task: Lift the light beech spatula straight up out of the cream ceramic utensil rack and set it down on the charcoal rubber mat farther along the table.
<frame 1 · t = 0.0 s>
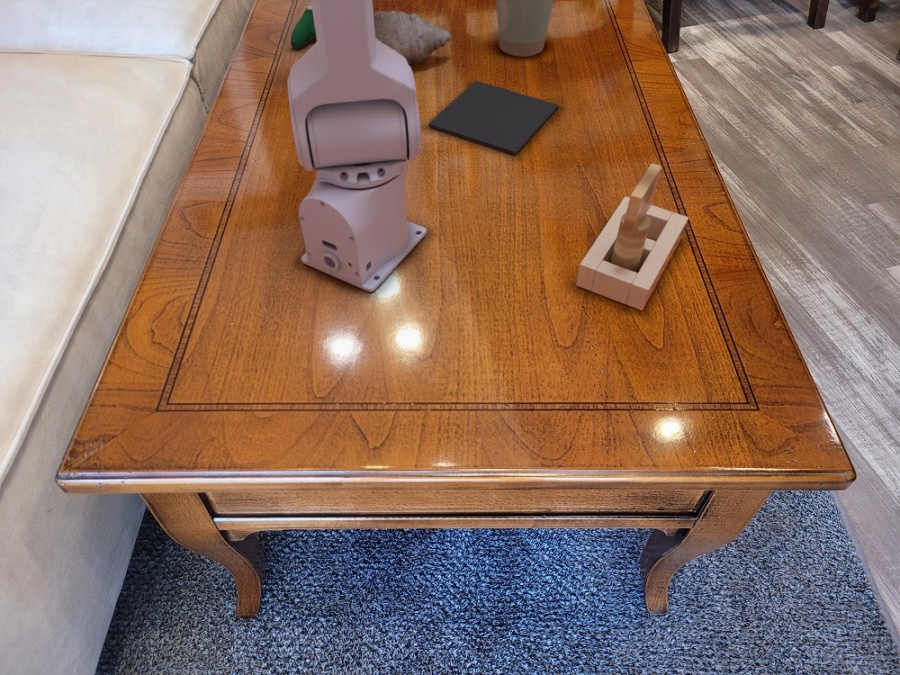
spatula: (621, 276, 61), resting in rack
seashell: (394, 64, 86), on the table
rack: (630, 261, 62), on the table
mat: (494, 117, 78), on the table
coffee cup: (520, 47, 89), on the table
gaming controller: (331, 45, 90), on the table
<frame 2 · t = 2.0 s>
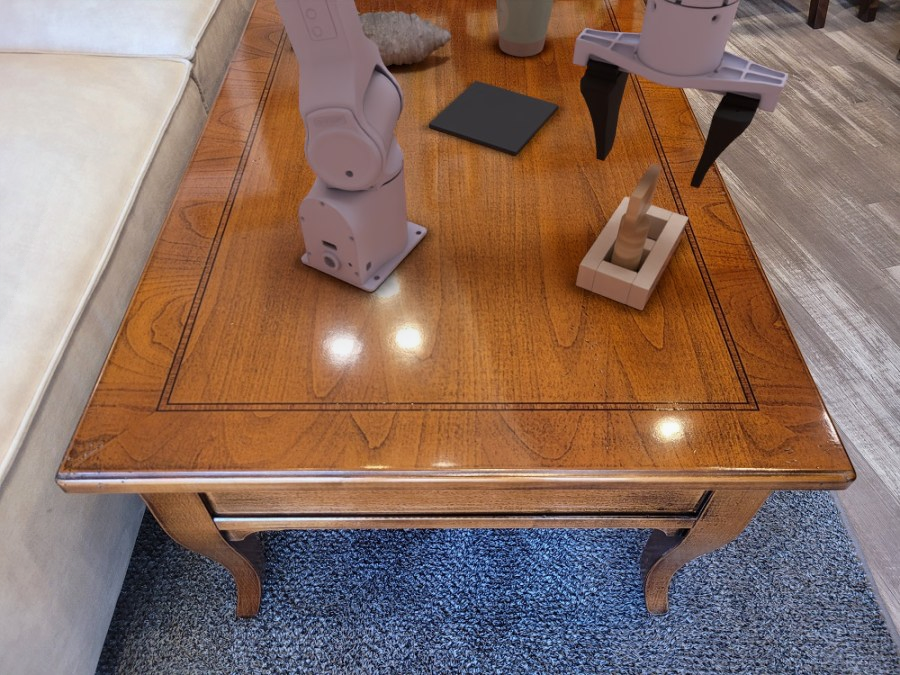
hand: (649, 166, 54), 10 cm above the table, tool pointing down, fingers open, 7 cm apart
nothing on the table moved.
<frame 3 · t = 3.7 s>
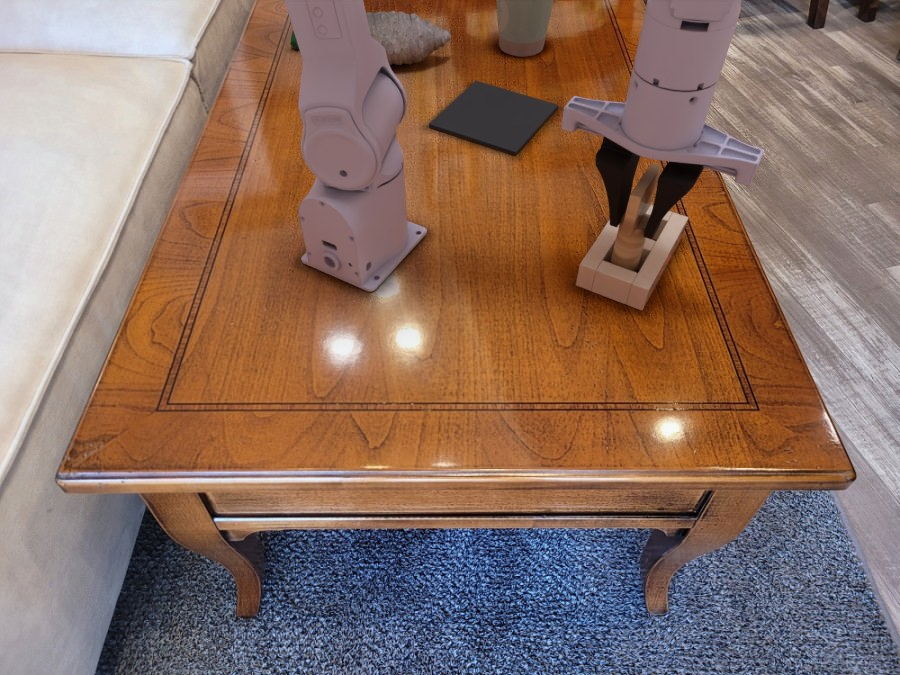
hand: (634, 225, 56), 6 cm above the table, tool pointing down, fingers closed on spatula, 2 cm apart
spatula: (620, 276, 61), resting in rack, touching gripper
everything else where it was.
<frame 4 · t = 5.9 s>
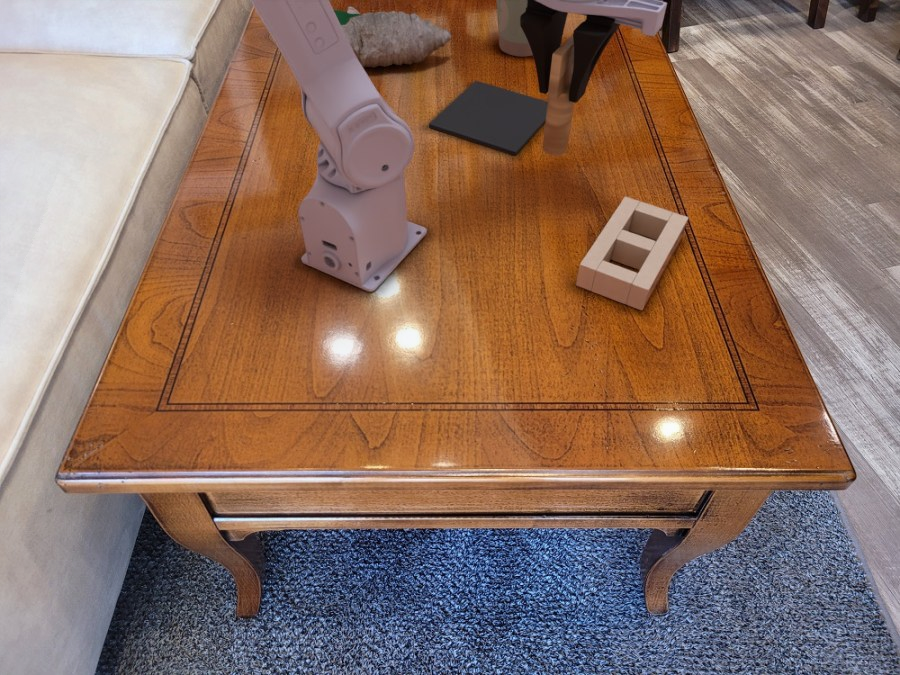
hand: (562, 92, 61), 10 cm above the table, tool pointing down, fingers closed on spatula, 2 cm apart
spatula: (554, 148, 66), point 5 cm above the table, touching gripper
everything else where it was.
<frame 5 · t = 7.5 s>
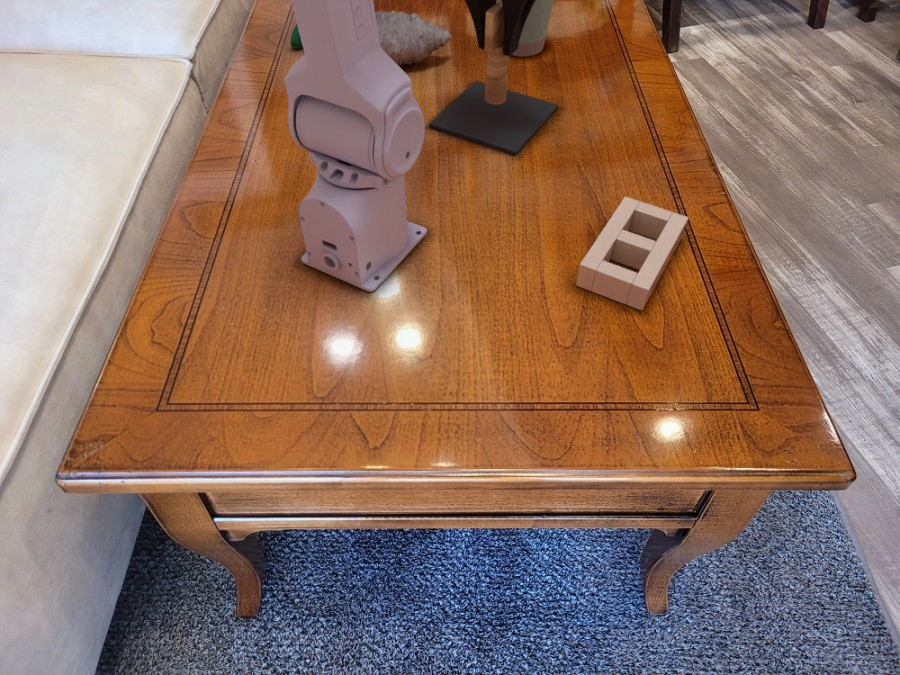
hand: (498, 48, 72), 8 cm above the table, tool pointing down, fingers closed on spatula, 2 cm apart
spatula: (495, 99, 76), point 2 cm above the table, touching gripper
everything else where it was.
when the fingers open (6 cm above the table, at t = 8.3 s): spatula stays where it is, resting on mat.
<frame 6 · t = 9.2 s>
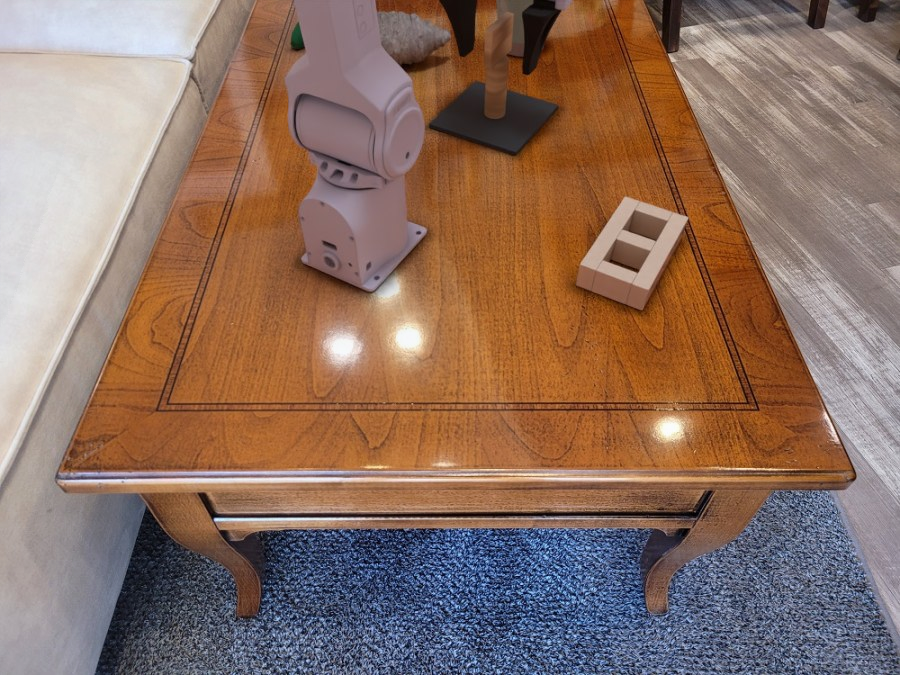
hand: (497, 61, 73), 7 cm above the table, tool pointing down, fingers open, 7 cm apart
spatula: (494, 113, 77), resting on mat
everything else where it was.
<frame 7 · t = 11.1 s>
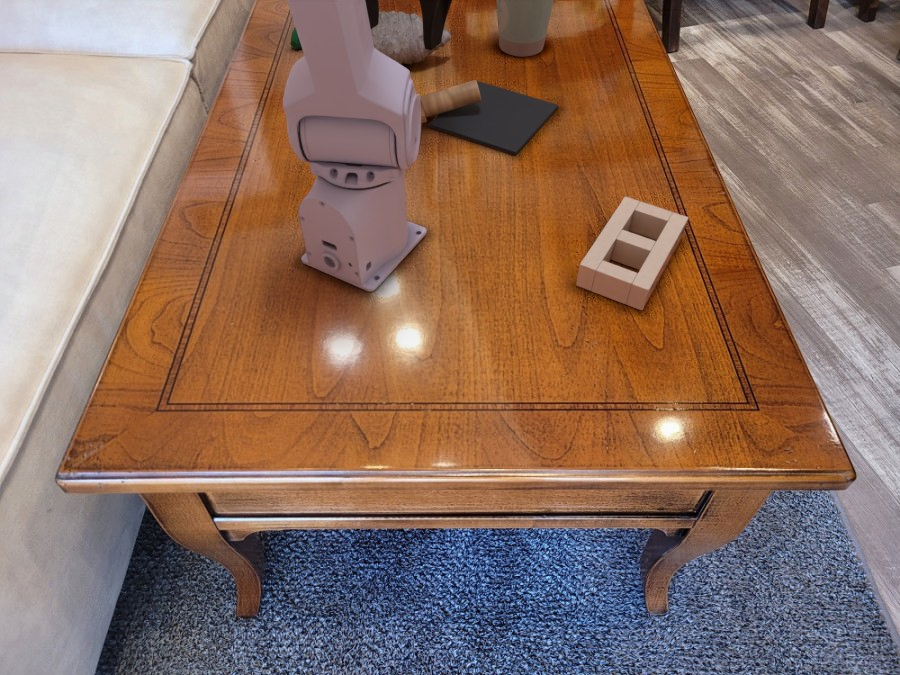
hand: (401, 36, 69), 10 cm above the table, tool pointing down, fingers open, 7 cm apart
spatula: (478, 90, 76), point 3 cm above the table, tilted 103°
everything else where it was.
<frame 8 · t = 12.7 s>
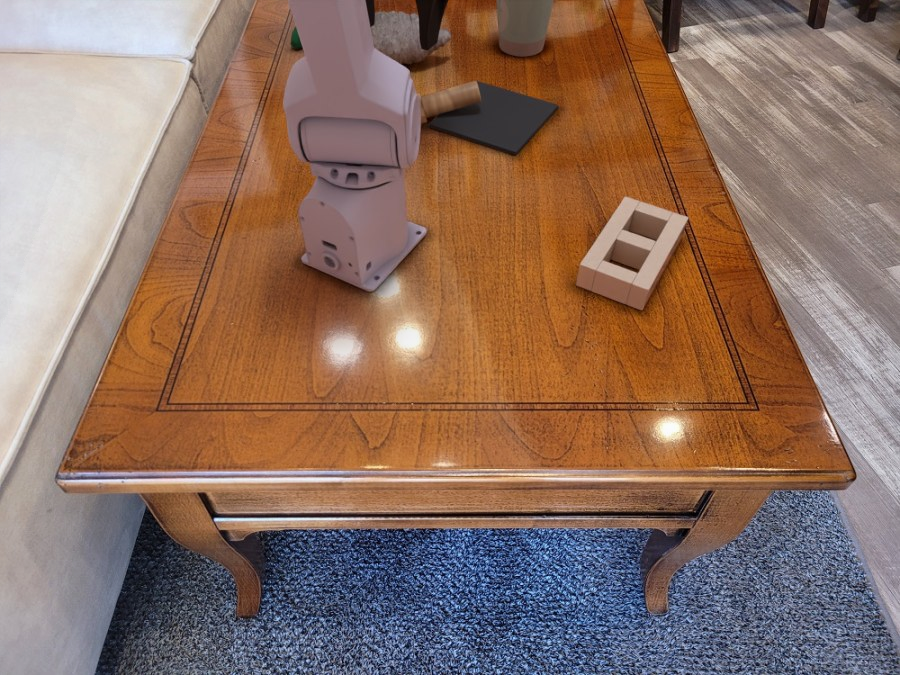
hand: (397, 36, 69), 10 cm above the table, tool pointing down, fingers open, 7 cm apart
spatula: (478, 91, 76), point 3 cm above the table, tilted 102°, touching mat
everything else where it was.
at the end: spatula inside the target area on the mat (2.1 cm from its centre), point 2.7 cm above the mat's base; the gripper is holding nothing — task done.
